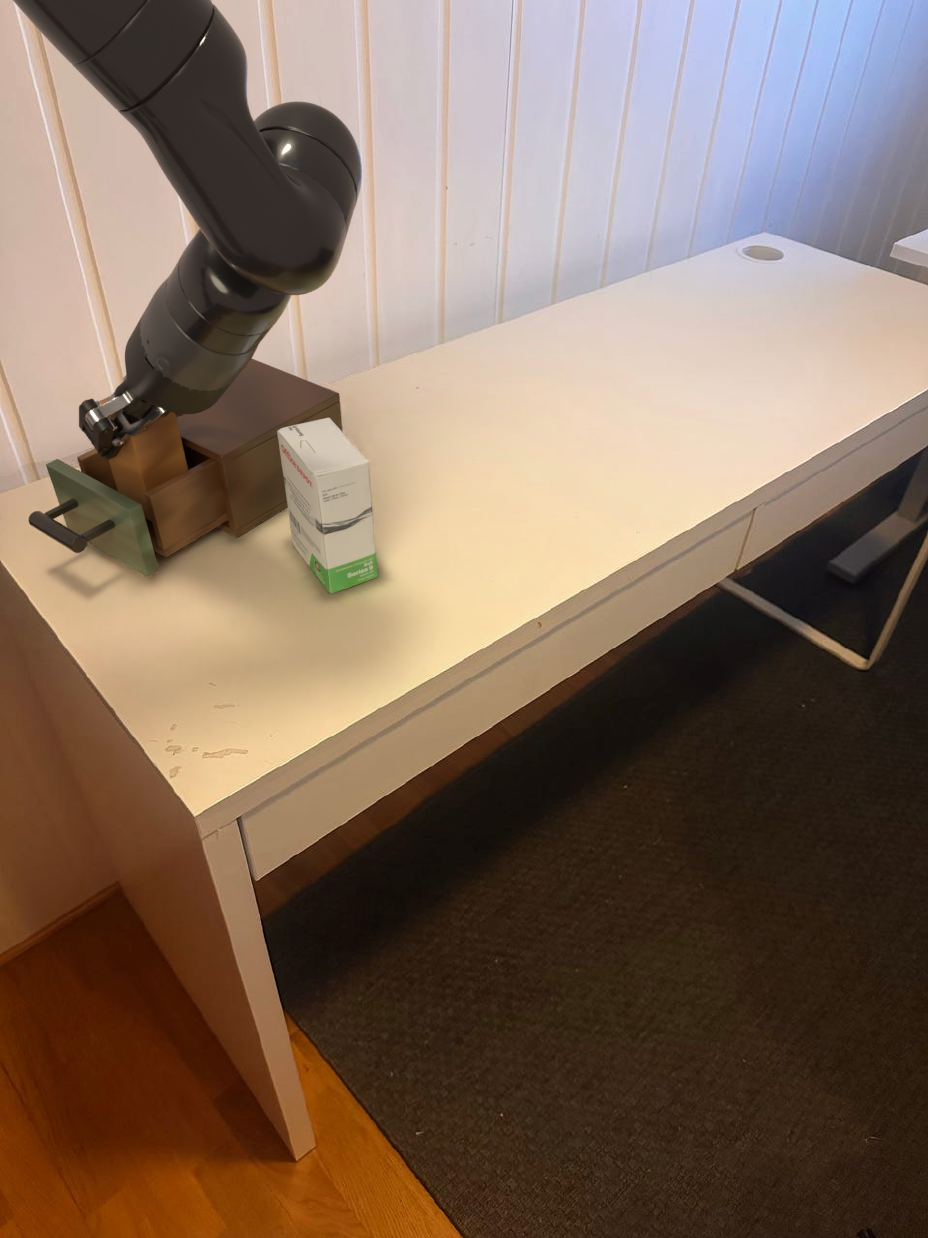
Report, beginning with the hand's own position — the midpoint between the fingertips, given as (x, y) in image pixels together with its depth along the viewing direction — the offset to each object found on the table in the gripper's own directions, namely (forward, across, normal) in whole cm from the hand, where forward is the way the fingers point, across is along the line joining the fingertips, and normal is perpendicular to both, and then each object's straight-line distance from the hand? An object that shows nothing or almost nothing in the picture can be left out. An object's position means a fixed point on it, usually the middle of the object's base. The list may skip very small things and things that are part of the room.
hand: (128, 436), depth 77 cm
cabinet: (+5, -10, +8) cm, 14 cm away
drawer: (+4, +1, +7) cm, 8 cm away
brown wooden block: (+3, 0, +6) cm, 6 cm away
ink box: (-6, -6, +19) cm, 21 cm away
